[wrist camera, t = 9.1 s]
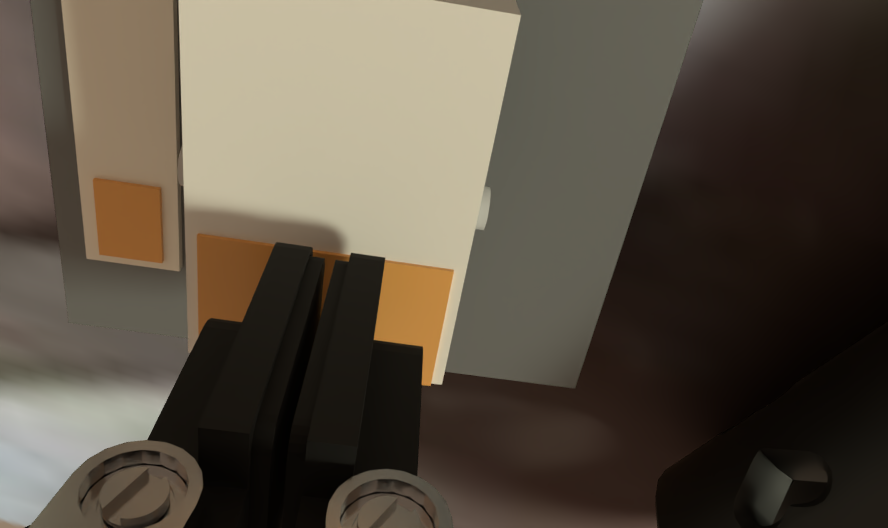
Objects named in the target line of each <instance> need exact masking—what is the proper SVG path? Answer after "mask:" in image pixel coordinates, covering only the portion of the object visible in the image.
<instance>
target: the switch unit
mask: <svg viewBox="0 0 888 528" xmlns="http://www.w3.org/2000/svg"><path fill="white" fill-rule="evenodd" d="M516 3H517V6H518V8H519V11H520V14H521V18H520V23H519V27H518V32H517V37H516V41H515V46H514V51H513V55H512V60H511V65H510V69H509V74H508V79H507V83H506V88H505V93H504V97H503V102H502V107H501V111H500V116H499V121H498V125H497V130H496V135H495V139H494V144H493V149H492V153H491V158H490V163H489V167H488V172H487V177H486V181H485V187H490V190H491V196H490V206H489V213H488V218H487V222H486V226H485V228H484V230H479V229H475V233H474V237H473V242H472V247H471V251H470V256H469V261H468V265H467V270H466V275H465V279H464V284H463V289H462V293H461V298H460V303H459V307H458V312H457V317H456V321H455V326H454V331H453V335H452V340H451V345H450V349H449V354H448V359H447V363H446V368H445V372H451V373H459V374H466V375H474V376H482V377H490V378H497V379H505V380H513V381H520V382H528V383H536V384H543V385H551V386H559V387H567V388H574V389H575V387H576V384H577V381H578V378H579V375H580V372H581V369H582V366H583V363H584V360H585V357H586V354H587V350H588V347H589V344H590V341H591V338H592V335H593V332H594V329H595V326H596V323H597V320H598V317H599V314H600V311H601V308H602V305H603V302H604V299H605V296H606V293H607V290H608V287H609V284H610V281H611V278H612V275H613V272H614V269H615V266H616V263H617V260H618V257H619V254H620V251H621V248H622V245H623V242H624V239H625V236H626V233H627V230H628V227H629V223H630V220H631V217H632V214H633V211H634V208H635V205H636V202H637V199H638V196H639V193H640V190H641V187H642V184H643V181H644V178H645V175H646V172H647V169H648V166H649V163H650V160H651V157H652V154H653V151H654V148H655V145H656V142H657V139H658V136H659V133H660V130H661V127H662V124H663V121H664V118H665V115H666V112H667V109H668V106H669V103H670V100H671V96H672V93H673V90H674V87H675V84H676V81H677V78H678V75H679V72H680V69H681V66H682V63H683V60H684V57H685V54H686V51H687V48H688V45H689V42H690V39H691V36H692V33H693V30H694V27H695V24H696V21H697V18H698V15H699V12H700V9H701V6H702V3H703V0H516ZM30 4H31V12H32V20H33V29H34V37H35V46H36V54H37V62H38V71H39V79H40V87H41V96H42V104H43V113H44V121H45V129H46V138H47V146H48V155H49V163H50V171H51V180H52V188H53V196H54V205H55V213H56V222H57V230H58V238H59V247H60V255H61V264H62V272H63V280H64V289H65V297H66V305H67V314H68V322H69V323H73V324H81V325H89V326H96V327H104V328H112V329H119V330H127V331H135V332H143V333H150V334H158V335H166V336H173V337H181V338H188V324H187V288H186V252H185V216H184V186H181V185H180V184H179V181H178V175H177V167H178V158H179V154H180V150H181V147H182V145H183V144H182V108H181V72H180V36H179V0H30Z"/></svg>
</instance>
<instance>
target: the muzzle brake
mask: <svg viewBox="0 0 888 528" xmlns="http://www.w3.org/2000/svg"><path fill="white" fill-rule="evenodd" d="M656 516H657V527H658V528H888V322H886V323H885V324H883V325H882V326H880V327H879V328H877V329H876V330H874V331H873V332H871V333H870V334H868V335H867V336H865V337H864V338H862V339H861V340H859V341H858V342H856V343H855V344H853V345H852V346H850V347H849V348H847V349H846V350H844V351H843V352H841V353H840V354H838V355H837V356H836V357H834V358H833V359H831V360H830V361H828V362H827V363H825V364H824V365H822V366H821V367H819V368H818V369H816V370H815V371H813V372H812V373H810V374H809V375H807V376H806V377H804V378H803V379H801V380H800V381H798V382H797V383H795V384H794V385H793V386H792V387H791V388H790V389H789V390H788V391H787V392H786V393H784V394H783V395H782V396H781V397H779V398H778V399H777V400H775V401H774V402H772V403H771V404H769V405H768V406H766V407H764V408H762V409H761V410H759V411H757V412H755V413H754V414H752V415H751V416H750V417H748V418H747V419H746V420H745V421H743V422H741V423H740V424H738V425H736V426H734V427H733V428H731V429H729V430H727V431H725V432H723V433H721V434H719V435H717V436H716V437H714V438H713V439H711V440H710V441H708V442H707V443H705V444H704V445H702V446H701V447H699V448H698V449H696V450H695V451H693V452H692V453H690V454H689V455H687V456H686V457H684V458H683V459H681V460H680V461H678V462H677V463H675V464H674V465H672V466H671V467H669V468H668V469H666V470H665V471H664V473H663V474H662V475H661V477H660V478H659V480H658V485H657V491H656Z"/></svg>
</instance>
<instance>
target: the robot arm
mask: <svg viewBox="0 0 888 528" xmlns="http://www.w3.org/2000/svg"><path fill="white" fill-rule="evenodd" d="M384 265H385V257H378V256H371V255H364V254H357V253H351V254H350V258H349V262H348V261H341V260H335V264H334V267H333V271H332V275H331V279H330V283H329V286H328V290H327V294H326V298H325V301H324V305H323V309H322V313H321V317H320V312H321V302H322V291H323V280H324V269H325V258H320V257H313V248H312V247H309V246H302V245H295V244H288V243H281V242H276V243H275V245H274V247H273V250H272V252H271V255H270V257H269V259H268V262H267V264H266V266H265V269H264V271H263V274H262V276H261V278H260V281H259V283H258V286H257V288H256V290H255V293H254V295H253V297H252V300H251V302H250V305H249V307H248V309H247V312H246V314H245V316H244V319H243V321H242V322H237V321H230V320H222V319H215V318H210V319H208V320H207V322H206V323H205V325H204V326H203V328H202V330H201V332H200V334H199V336H198V339H197V341H196V343H195V345H194V347H193V349H192V351H191V353H190V355H189V357H188V359H187V361H186V363H185V365H184V367H183V369H182V371H181V373H180V375H179V377H178V379H177V381H176V383H175V385H174V387H173V389H172V391H171V393H170V395H169V397H168V399H167V401H166V403H165V405H164V407H163V409H162V411H161V413H160V415H159V417H158V419H157V421H156V424H155V426H154V428H153V430H152V432H151V434H150V436H149V438H148V440H143V441H134V442H126V443H122V444H119V445H116V446H113V447H110V448H107V449H104V450H103V451H101V452H99V453H97V454H96V455H94V456H92V457H90V458H89V459H87V460H86V461H85V462H84V463H83V464H82V465H81V466H80V467H79V468H78V469H76V470H75V471H74V472H73V473H72V475H71V476H70V477H69V478H68V480H67V481H66V482H65V483H64V484H63V486H62V487H61V488H60V489H59V491H58V492H57V493H56V494H55V496H54V497H53V498H52V499H51V501H50V502H49V503H48V504H47V506H46V507H45V508H44V509H43V511H42V512H41V513H40V514H39V515H38V517H37V518H36V519H35V520H34V522H33V523H32V524H31V525H29V526H27V527H25V528H454V527H453V522H452V517H451V514H450V511H449V508H448V506H447V503H446V501H445V500H444V498H443V497H442V496H441V495H440V493H439V492H438V491H437V490H436V488H434V487H433V486H432V485H430V484H429V483H427V482H426V481H425V480H423V479H422V478H420V477H418V476H417V468H418V448H419V428H420V408H421V388H422V367H423V346H415V345H408V344H401V343H393V342H386V341H378V340H374V335H375V328H376V321H377V314H378V307H379V300H380V293H381V286H382V279H383V272H384Z"/></svg>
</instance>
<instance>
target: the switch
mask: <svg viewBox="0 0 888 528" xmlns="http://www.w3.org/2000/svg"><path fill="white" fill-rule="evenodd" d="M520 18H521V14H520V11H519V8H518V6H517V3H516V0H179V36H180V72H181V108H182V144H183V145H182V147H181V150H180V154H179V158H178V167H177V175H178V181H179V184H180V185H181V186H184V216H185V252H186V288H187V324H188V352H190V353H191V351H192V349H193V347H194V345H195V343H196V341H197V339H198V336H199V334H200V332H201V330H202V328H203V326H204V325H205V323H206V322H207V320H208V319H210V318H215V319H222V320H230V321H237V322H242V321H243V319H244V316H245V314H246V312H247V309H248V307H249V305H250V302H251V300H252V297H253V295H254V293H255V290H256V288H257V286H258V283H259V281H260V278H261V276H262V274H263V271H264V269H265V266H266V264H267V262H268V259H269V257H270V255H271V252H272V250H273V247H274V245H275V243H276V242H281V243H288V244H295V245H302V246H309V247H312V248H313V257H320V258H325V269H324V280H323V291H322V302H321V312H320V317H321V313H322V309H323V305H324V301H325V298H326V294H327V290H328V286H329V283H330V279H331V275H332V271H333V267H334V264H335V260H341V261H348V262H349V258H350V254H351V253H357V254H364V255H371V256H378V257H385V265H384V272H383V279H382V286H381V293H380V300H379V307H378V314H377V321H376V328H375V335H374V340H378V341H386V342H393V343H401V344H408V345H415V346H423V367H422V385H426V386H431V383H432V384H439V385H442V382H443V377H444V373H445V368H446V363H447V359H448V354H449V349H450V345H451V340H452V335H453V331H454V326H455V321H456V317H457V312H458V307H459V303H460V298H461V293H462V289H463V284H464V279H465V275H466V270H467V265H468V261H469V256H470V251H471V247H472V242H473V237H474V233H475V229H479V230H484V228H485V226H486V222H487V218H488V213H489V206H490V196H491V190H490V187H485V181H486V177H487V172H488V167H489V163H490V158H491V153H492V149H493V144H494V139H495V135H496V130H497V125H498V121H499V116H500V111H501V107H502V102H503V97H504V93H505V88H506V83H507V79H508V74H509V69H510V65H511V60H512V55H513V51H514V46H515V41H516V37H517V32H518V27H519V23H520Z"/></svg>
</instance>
